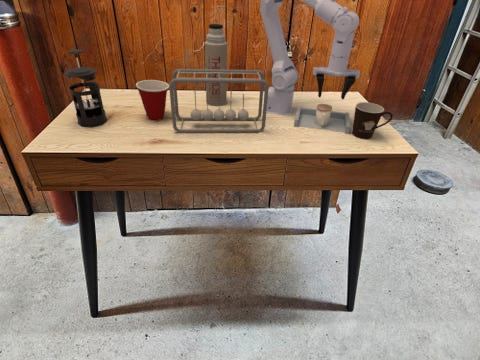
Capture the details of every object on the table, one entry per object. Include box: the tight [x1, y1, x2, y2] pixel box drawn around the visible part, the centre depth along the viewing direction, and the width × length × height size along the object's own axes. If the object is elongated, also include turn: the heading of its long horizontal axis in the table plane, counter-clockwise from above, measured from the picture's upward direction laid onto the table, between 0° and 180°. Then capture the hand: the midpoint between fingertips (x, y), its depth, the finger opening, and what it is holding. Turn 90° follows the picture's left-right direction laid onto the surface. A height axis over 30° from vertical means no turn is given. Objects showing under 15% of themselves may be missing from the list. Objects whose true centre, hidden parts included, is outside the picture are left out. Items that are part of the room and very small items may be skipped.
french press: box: [64, 49, 108, 128], centre depth 102 cm, size 12×9×23 cm
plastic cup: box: [135, 79, 169, 122], centre depth 109 cm, size 11×11×12 cm
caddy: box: [293, 106, 351, 135], centre depth 112 cm, size 18×13×3 cm
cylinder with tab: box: [314, 103, 333, 126], centre depth 110 cm, size 5×7×6 cm
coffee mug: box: [351, 101, 393, 140], centre depth 103 cm, size 12×9×10 cm
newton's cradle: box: [168, 68, 270, 134], centre depth 104 cm, size 30×10×18 cm, turn 94°
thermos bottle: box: [204, 23, 228, 107], centre depth 118 cm, size 8×8×28 cm
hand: (330, 97), depth 107 cm, fingers open, 7 cm apart
